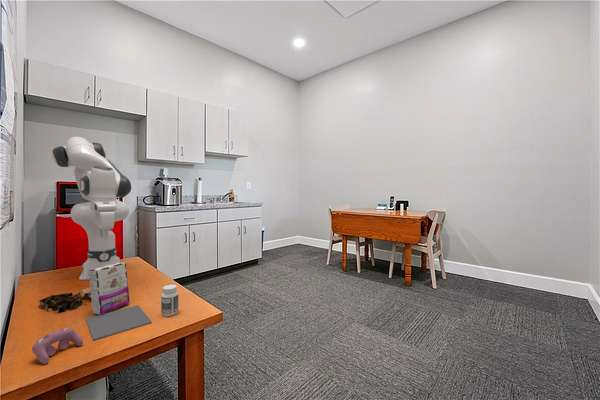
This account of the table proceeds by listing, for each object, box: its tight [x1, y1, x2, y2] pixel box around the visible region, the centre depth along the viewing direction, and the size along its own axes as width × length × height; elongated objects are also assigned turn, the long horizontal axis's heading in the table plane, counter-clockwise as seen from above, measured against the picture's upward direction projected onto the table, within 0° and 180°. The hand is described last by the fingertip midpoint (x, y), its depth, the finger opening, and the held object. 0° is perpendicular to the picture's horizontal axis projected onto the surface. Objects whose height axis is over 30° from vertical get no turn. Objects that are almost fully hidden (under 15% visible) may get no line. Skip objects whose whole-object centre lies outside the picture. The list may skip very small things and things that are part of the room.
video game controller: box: [31, 327, 84, 365], centre depth 73 cm, size 10×5×7 cm, turn 164°
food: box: [38, 286, 91, 314], centre depth 108 cm, size 22×19×4 cm
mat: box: [85, 304, 153, 341], centre depth 91 cm, size 18×16×1 cm
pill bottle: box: [160, 284, 179, 317], centre depth 98 cm, size 6×6×10 cm
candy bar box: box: [88, 261, 131, 316], centre depth 100 cm, size 11×5×16 cm, turn 160°
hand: (103, 238), depth 111 cm, fingers open, 3 cm apart
